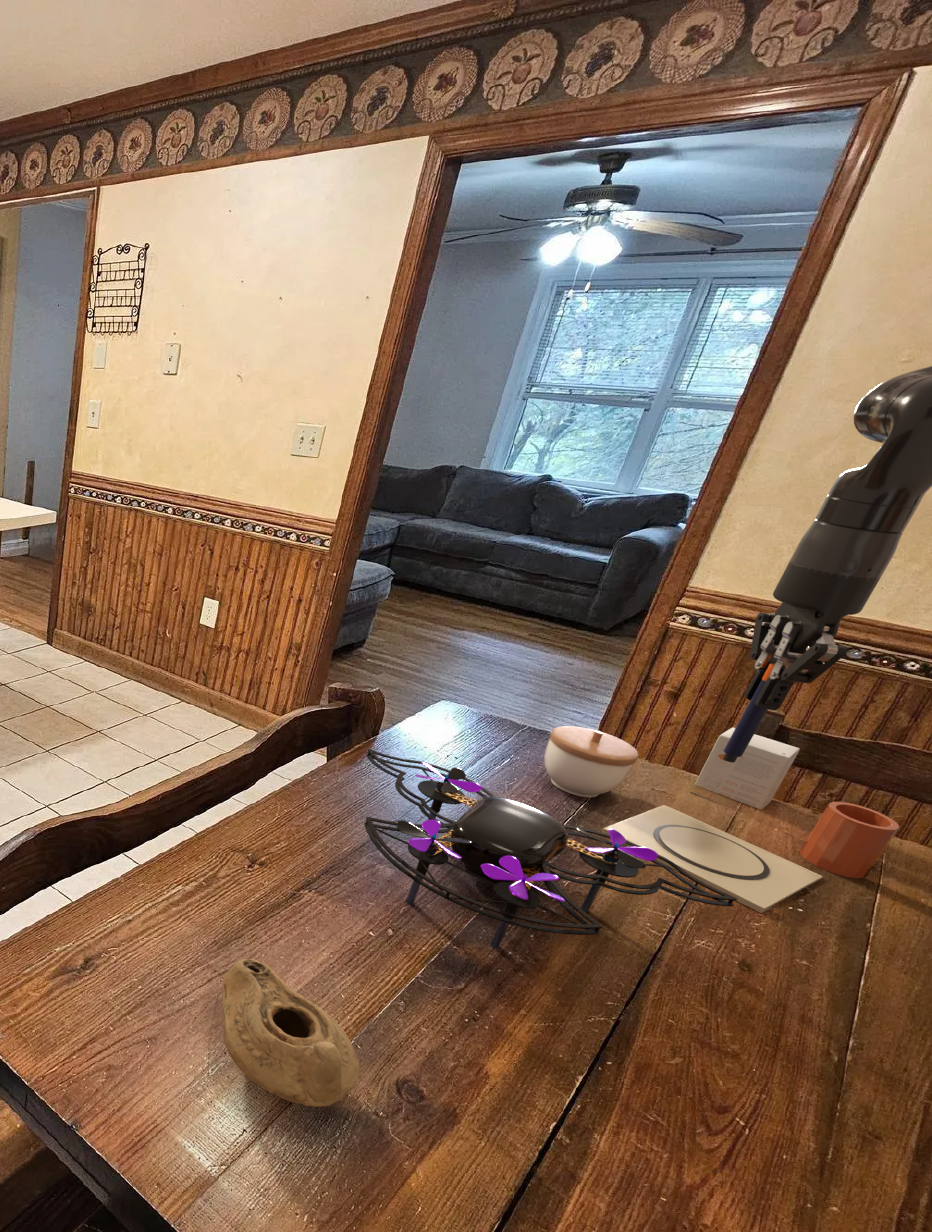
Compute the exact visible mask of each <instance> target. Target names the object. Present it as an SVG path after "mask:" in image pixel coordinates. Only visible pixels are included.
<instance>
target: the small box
mask: <svg viewBox="0 0 932 1232" xmlns="http://www.w3.org/2000/svg"><path fill="white" fill-rule="evenodd" d="M735 728H736V727H730V728H729V729H727V730H726V731H724V732H723V733H721V734H720V735H719V736H718V738H717V739H716V742H715V743H714V746H713V748H712V750H711V751H710V753H709V756H708V757H707V759H706V761H705V763H704V765H703V767H702V769H701V771H700V773H699V775H698V777H697V779H696V781H695V783H694V786H697V787H699V788H702V789H704V790H707V791H710V792H713V793H714V794H715V793H716V794H718V795H721V796H724V797H727V798H729V799H731V800H734V801H737V802H739V803H741V804H745V805H747V806H749V807H751V808H756V809H758V810H763V809H764V808H765V807H767V806H768V805H769V804H770V803H771V802H772V801H773V799H774V797H775V795H776V793H777V791H778V790H779V788H780V786H781V784H782V783H783V781H784V778H785V777H786V775H787V773H788V772H789V770H790V768H791V766H792V765H793V763H794V761H795V760H796V757H797V755H798V754H799V753H800V747H796V746H793V745H790V744H786V743H784V742H781V741H778V740H774V739H772V738H767V737H765V736H762V735H758V734H755V733H754V735H753V737H752V739H751V741H750V742H749V744H748V746H747V748H746V750H745V751H744V753H743V755H742V756H741V757H737V759H736V761H735V762H734V763H732V762H727V761H725V760H723V757H724V755H725V752H724V749H725V747H726V745H727V743H728V741H729V739H730V738H731V736H732V734H733V732H734V730H735ZM689 792H690V794H692V795H694V796H695V797H696V796H697V797H699V798H702V799H704V800H707V801H709V802H712V803H714V804H718V805H719V803H718V802H715V801H714V800H711V799H709V798H706V797H704V796H702V795H699V794H697V793H694V792H692V791H689ZM721 806H722V807H724V805H722V804H721Z"/></svg>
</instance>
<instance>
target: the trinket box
mask: <svg viewBox="0 0 932 1232" xmlns="http://www.w3.org/2000/svg"><path fill="white" fill-rule="evenodd" d="M639 756H640V754H639V752H638V751H637V749H636V748H635V747H634V746H633V745H632V744H630V743H628V742H626V741H625V740H623V739H621V738H619V737H617V736H614V735H611V734H609V733H607V732H603V731H600V730H596V729H592V728H587V727H581V726H573V725H562V726H557V727H555V728H553V729H552V730H551V733H550V736H549V739H548V742H547V745H546V747H545V752H544V758H543V760H544V761H543V763H544V768H545V771H546V773H547V775H548V777H549V778H550V782H551V783H552V784H553V785H554V786H555V787H556V788H558V789H560V791H561V790H562V791H564V792H566V793H568V794H571V795H574V796H577V797H583V798H596V797H598V796H599V795H602V794H605V793H608V792H611V791H613V790H615V789H616V788H617V787H619V786H620V785H621V784H622V783H623V782H624V781H625V779H626V778H627V777H628V775H629V774H630V773H631V771H632V768H633V766H634V764H635V763H636V762H637V760H638V759H639Z"/></svg>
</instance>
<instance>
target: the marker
mask: <svg viewBox="0 0 932 1232" xmlns="http://www.w3.org/2000/svg"><path fill="white" fill-rule="evenodd" d="M774 665H775V663H771V664H770V665H769V666H768V668H767V670H766V672H765V674H764V676H763V677H762V680H761V682H760V684H759V686H758V688H757V690H756V691H755V693H754V695H753V697H752V699H751V700H749V702H748V705H747V706H746V708H745V709H744V711H743V713H742V716H741V717H740V719H739V721H738V723H737V725H736V727H734V728H735V730H734V732H733V734H732V736H731V738H730V739H729V741H728V743H727V745H726V747H725V749H724V752H725V755H724V757H723V760H725V761H727V762H732V763H734V762H735V761H736V759H737V757H741V756H742V755H743V753H744V751H745V750H746V748H747V746H748V744H749V742H750V741H751V739H752V737H753V735H754V734H755V733H756V731H757V730H758V728H759V726H760V724H761V722H762V721H763V719H764V717H765V716H766V713H767V712H768V709H762V708H759V707H757V706H756V705H755V701H756V699H757V697H758V695H759V693H760V692H761V690H762V688H763V686H764V684H765V682H766V681H767V679H768V678H770V673H771V671H772V669H773V667H774ZM788 667H789V666H788V665H787V666H786V668H788ZM786 668H785V669H786Z"/></svg>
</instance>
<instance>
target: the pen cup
mask: <svg viewBox="0 0 932 1232" xmlns="http://www.w3.org/2000/svg"><path fill="white" fill-rule="evenodd" d="M899 829H900V825H899V823H898V822H897V821H895V820H894V819H893V818H891V817H890V816H887V815H885V814H884V813H882V812H880V811H876V810H874V809H871V808H869V807H866V806H862V805H859V804H855V803H851V802H850V803H849V802H845V801H832V802H830V803H828V804H827V806H826V808H825V809H824V811H823V812H822V813H821V815H820V817H819V818H818V821H817V822H816V823H815V826H814V827H813V829H812V830H811V831H810V833H809V835H808V837H807V838H806V839H805V841H804V843H803V844H802V846H801V847H800V849H799V855H800V856H801V857H802V858H803V859H804V860H805V861H807V862H808V863H810V864H812V865H813V866H815V867H816V868H820V869H821V870H824V871H826V872H829V873H831V874H834V875H838V876H841V877H845V878H850V879H863V878H865V877H867V876H868V874H869V873H870V872H871V871H872V869H871V868H874V866H875V864H876V863H877V861H878V860H879V859H880V857H881V855H882V854H883V853H884V851H885V850H886V848H887V847H888V845H889V844H890V843H891V841H892V839H893V838H894V837H895V835H896V834H897V832H898V830H899Z"/></svg>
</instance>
